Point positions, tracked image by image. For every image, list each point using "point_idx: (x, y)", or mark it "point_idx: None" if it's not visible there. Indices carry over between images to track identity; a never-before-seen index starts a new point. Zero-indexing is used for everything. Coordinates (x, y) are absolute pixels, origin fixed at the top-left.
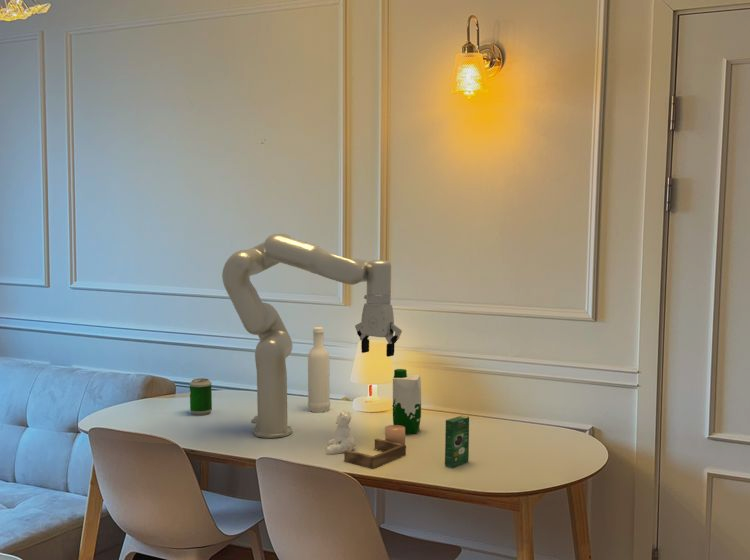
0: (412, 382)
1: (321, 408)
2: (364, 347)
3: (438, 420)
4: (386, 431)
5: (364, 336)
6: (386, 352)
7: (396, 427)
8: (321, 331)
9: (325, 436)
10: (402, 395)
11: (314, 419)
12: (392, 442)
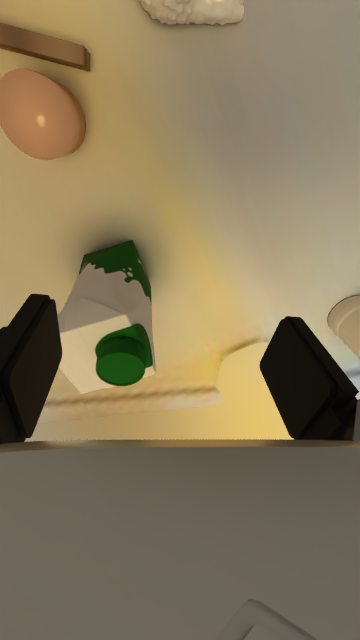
0: None
1: (345, 305)
2: (295, 352)
3: None
4: (49, 79)
5: (355, 438)
6: (42, 314)
7: (33, 124)
8: None
9: (283, 121)
10: (94, 287)
11: (345, 252)
12: (5, 38)
